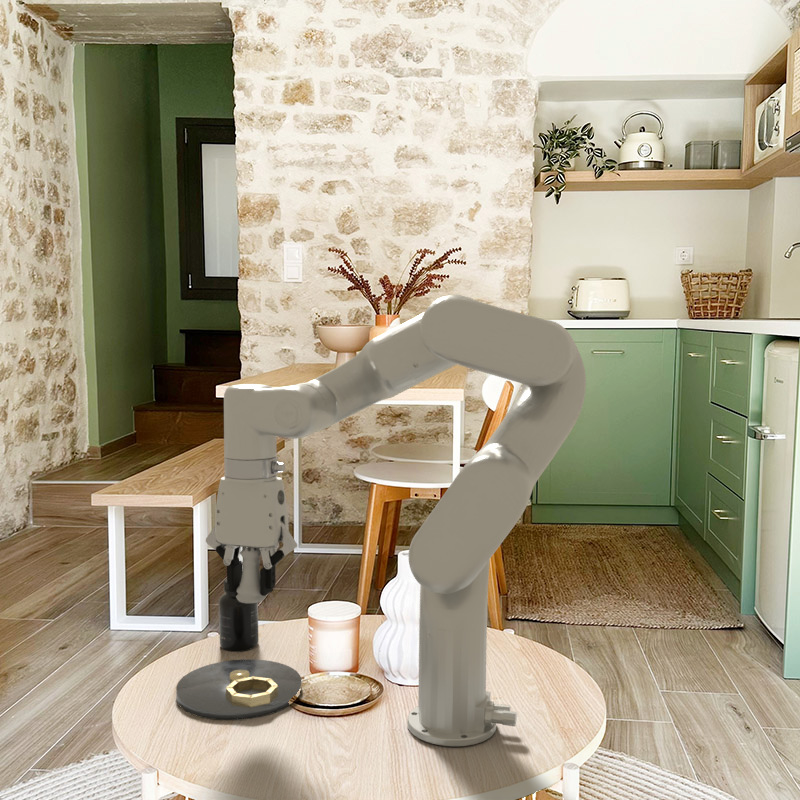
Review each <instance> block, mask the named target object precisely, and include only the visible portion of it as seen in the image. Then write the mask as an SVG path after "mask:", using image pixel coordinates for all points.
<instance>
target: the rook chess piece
mask: <svg viewBox="0 0 800 800" xmlns="http://www.w3.org/2000/svg"><path fill="white" fill-rule="evenodd" d="M240 556H241V557H242V568H243V572H242V579H241V582H240V583H239V584H240V585H239V586H238V588H237V590H236V591H237V593H238V595H237V596H236V598H237V599H238V601H239V602H241V603H258V604H259V603H261V602H263V601H265V599H266V597H267V595H266V596H262V595H261V594H260V570H261V569H260V565H261V560H260V557H261V556H262V555H261V551H260V548H252V547H241V551H240Z"/></svg>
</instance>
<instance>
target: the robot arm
mask: <svg viewBox="0 0 800 800" xmlns="http://www.w3.org/2000/svg"><path fill="white" fill-rule="evenodd" d="M457 365H459V366H461V367H465V368H468V369H471V370H474V371H476V372H477V371H478V372H481V373H485V374H487V375H491V376H495V377H499V378H501V379H506V380H509V381H512V382H517V383H519V384H522V388H521V391H520V393H519V395H518V397H517V398H516V400H515V402H513V404H512V406H511V407H510V409H509V410H508V411H507V413H506V414H505V416H504V418H503V419H502V421H501V422H500V424H499V425H498V426H497V428H496V429H495V430H494V432H493V433H492V435H490V437H489V439H488V440H486V443H485V444H484V445H483V446H482V447H481V448H480V449H479V450H478V451H477V452H476V453H475V454H474V455H473V456H472V457H470V459H469V460H468V461H467V462H466V463H465V464H464V466H463V468H462V469H460V471H459V473H458V474H457V475H456V477H455V478H454V479H453V481H452V482H451V484H450V485H449V486H448V488H447V490H446V491H445V492H444V493H443V495H442V497H441V498H440V499H439V501H438V502H437V504H436V505H435V507H434V508H433V509H432V510H431V512H430V513H429V515H428V516H427V518H426V519H425V521H424V522H423V523H422V525H420V527H419V528H418V530H417V532H415V534H414V536H413V537H412V539H411V542H410V545H409V548H408V564H409V569H410V572H411V574H412V576H413V578H414V579H415V581H416V582H417V583H418V584H419V586H420V589H419V591H420V592H419V618H418V619H419V620H418V621H419V622H418V624H419V625H418V627H419V629H418V705H417V706H416V707H414V708H413V709H412V710H411V711H410V712H409V713H408V715H407V723H406V724H407V728H408V730H409V732H410V733H411V734H412V735H413V736H415V737H416V738H418V739H419V740H421V741H423V742H426V743H428V744H433V745H437V746H443V747H467V746H472V745H476V744H480V743H483V742H484V741H487V740H488V739H490V738H491V737H492V736H493V735H494V734H495V733H496V729H497V724H498V725H502V726H509V727H516V726H517V717H518V716H517V713H518V712H517V711H512V710H511V705H510V704H509V705H508V704H503V703H502V704H499V703H498V704H497V703H495V702H494V701H491V691H487V637H488V635H487V634H488V631H487V630H488V627H487V626H488V603H489V602H488V599H489V597H488V596H489V578H490V577H489V575H490V560H491V558H492V557H493V555H494V554H495V553H496V551H497V550H498V548H500V546H501V545H502V544H503V541H504V540H505V539H506V538H507V536H508V535H510V532H511V531H512V529H514V527H515V526H516V524H517V523H518V521H519V520H520V518H521V517H522V516H523V513H525V510H526V509H527V506H528V503H529V501H530V499H531V496H532V493H533V490H534V487H535V485H536V483H537V482H538V480H539V479H540V477H541V476H542V475H543V473H544V472H545V470H546V469H547V468H548V466H549V465H550V463H551V461H553V459H554V457H555V456H556V454H557V453H558V451H559V450H560V448H561V447H562V445H563V444H564V443H565V441H566V439H567V438H568V436H569V435H570V434H571V432H572V431H573V428H574V426H575V425H576V423H577V420H578V419H579V416H580V414H581V412H582V408H583V406H584V401H585V397H586V396H585V395H586V386H587V385H586V384H587V383H586V382H587V380H586V369H585V366H584V362H583V359H582V357H581V354H580V351H579V348H578V347H577V345H576V342H575V341H574V338H573V337H572V335H571V334H570V332H569V331H568V330H567V329H566V328H565V327H564V326H563V325H561V324H560V323H557V322H556V321H552V320H551V319H550V320H549V319H544V318H539V317H536V316H532V315H529V314H525V313H520V312H516V311H513V310H510V309H505V308H502V307H498V306H494V305H491V304H488V303H485V302H482V301H479V300H475V299H473V298H471V297H468V296H464V295H461V294H448V295H444V296H441V297H439V298H437V299H436V300H434V301H433V302H432V303H430V305H428V306H427V308H426V309H425V311H423V312H422V313H420V314H418V315H417V316H415V317H413V318H411V319H409V320H407V321H404V322H403V323H402V324H399V325H397V326H396V327H393V328H391V329H389V330H387V331H385V332H383V333H382V334H379V335H378V336H375V337H373V338H372V339H370V340H369V341H368V342H367V343H366V344H365V345H364V346H363V347H362V349H361V351H359V352H358V353H357V354H356V355H355V356H353V357H351V359H349V360H347V361H346V362H344V363H342V364H341V365H339V366H337V367H336V368H335V367H334V369H331V370H329V371H328V372H326V373H324V374H322V375H319V376H318V377H316V378H314V379H312V380H309V381H307V382H301V383H300V382H299V383H297V384H291V385H287V386H280V387H279V386H278V387H272V386H271V385H267V384H261V383H242V384H233V385H230V386H228V387H226V389H225V390H224V394H223V452H224V454H223V457H224V459H223V460H224V462H223V463H224V465H223V466H224V467H223V468H224V470H223V471H224V476H222V477H221V478H220V481H219V484H218V485H219V486H218V488H217V489H218V490H217V494H216V495H217V497H216V504H215V517H214V526H213V528H212V529H211V530H210V532H209V534H208V535H207V537H206V538H205V543H206V544H207V545H209V547H210V548H212V549H213V550H215V552H216V553H217V555H219V557H220V559H221V560H223V564H224V566H226V578H227V584H228V585H229V592H232V593H233V592H235V591H236V590H237V588H238V586H239V585H240V584H239V583H240V582H241V579H242V572H243V565H242V562H243V560H240V556H241V554H240V552H241V551H242V547H246V548H247V547H252V548H260V551H261V555H260V556H261V559H262V563H263V564H262V565H263V566H262V568H261V569H259V570H260V594H261V595H262V596H266V597H267V595H269V594H270V593H272V592H273V591H274V588H275V587H276V581H277V580H276V565H278V564H279V562H280V561H281V560H283V559H284V558H285V557H286V556H287V555H288V554H290V553H291V552H293V551H294V550H296V549H297V548H298V544H297V542H296V540H295V539H294V537H293V536H292V534H291V532H290V530H289V529H290V528H289V514H288V502H287V496H286V491H285V490H286V489H285V485H284V480H283V477H279V476H277V475H279V473H284V472H285V469H286V463H284V462H280V461H279V458H278V456H277V437H279V438H285V439H295V440H297V439H302V438H305V437H308V436H311V435H312V434H315V433H318V432H320V431H323V430H325V429H327V428H329V427H331V426H333V425H335V424H338V423H339V422H341V421H343V420H345V419H348V418H349V417H351V416H354V415H356V414H357V413H360V412H361V411H363V410H365V409H367V408H369V407H371V406H373V405H375V404H377V403H379V402H381V401H384V400H387V399H392V398H394V397H395V396H398V395H399V394H401V393H403V392H405V391H407V390H410V389H411V388H413V387H415V386H418V385H419V384H421V383H423V382H425V381H426V380H429V379H431V378H433V377H434V376H437V375H439V374H441V373H443V372H445V371H447V370H448V369H451V368H453V367H455V366H457ZM280 543H282V544H283V546H281V548H279V549H277V546H278V544H280Z"/></svg>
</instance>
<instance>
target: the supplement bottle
mask: <svg viewBox="0 0 800 800" xmlns="http://www.w3.org/2000/svg"><path fill="white" fill-rule="evenodd" d="M223 592H224V593H223V594H222V595H221V596H220V597H219V600H218V622H219V623H218V624H219V625H218V629H219V646H220V647H221V649H223V650H225V651H228V652H234V653H235V652H244V651H250V650H251V649H254V648H255V647H257V646H258V643H259V607H258V606H259V605H258V604H259V602H258V603H241V602H239V601H238V599H237V598H236V596H237V595H238V593H237V591H235V592H233V593H232V592H229V585H228V584H227V577H226V578H225V579H223Z"/></svg>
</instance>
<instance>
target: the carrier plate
mask: <svg viewBox="0 0 800 800" xmlns="http://www.w3.org/2000/svg"><path fill="white" fill-rule="evenodd" d="M300 687H301V688H302V677H301V675H300V673H299V672H298V671H297V670H295V669H294V668H292V666H289V665H287V664H284V663H282V662H281V663H280V662H277V661H271V660H267V659H265V660H264V659H255V658H254V659H251V658H250V659H249V658H248V659H243V658H242V659H231V660H226V661H225V660H224V661H219V662H214V663H211V664H207V665H204V666H201V667H198V668H196V669H194V670H192V671H190V672H188V673H187V674H185V675H184V676H183V677H181V679H180V680H178V683H177V684H176V687H175V689H176V691H175V693H176V698H177V699H176V698H175V699H176V702H178V703H177V705H178V704H179V705H180V706H181V707H180V706H179V705H178V706H179V707H180V708H181V709H182V708H183V709H184V711H185V712H186V713H188V712H189V713H188V714H190V713H191V715H194V716H196V715H197V717H199V716H200V717H199V718H203V719H210V720H220V721H221V720H222V721H236V720H237V721H238V720H247V719H249V720H250V719H254V718H260V717H264V716H268V715H271V714H274V713H277V712H280V711H281V710H284V709H286V708H288V707H290V706H291V705H289V703H288V702H289V700H290V699H291V698H292V697H293V696H294V695H296V694H297V692H298V691H299V689H300ZM183 709H182V710H183Z"/></svg>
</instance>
